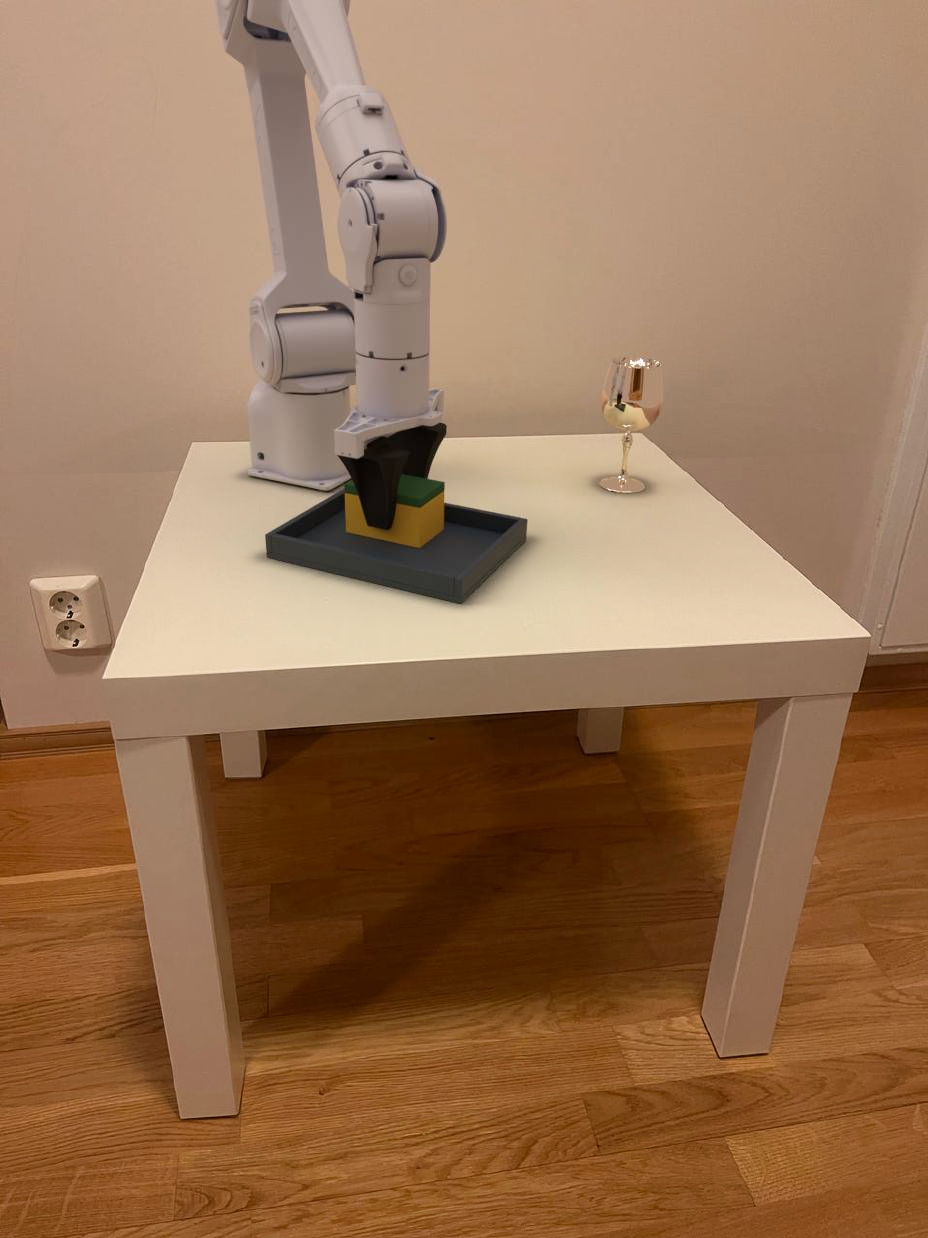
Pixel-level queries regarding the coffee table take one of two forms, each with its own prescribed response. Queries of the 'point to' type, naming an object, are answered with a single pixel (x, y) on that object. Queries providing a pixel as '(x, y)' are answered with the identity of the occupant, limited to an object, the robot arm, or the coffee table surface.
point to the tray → (402, 549)
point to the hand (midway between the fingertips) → (393, 516)
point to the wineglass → (631, 408)
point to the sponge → (402, 512)
